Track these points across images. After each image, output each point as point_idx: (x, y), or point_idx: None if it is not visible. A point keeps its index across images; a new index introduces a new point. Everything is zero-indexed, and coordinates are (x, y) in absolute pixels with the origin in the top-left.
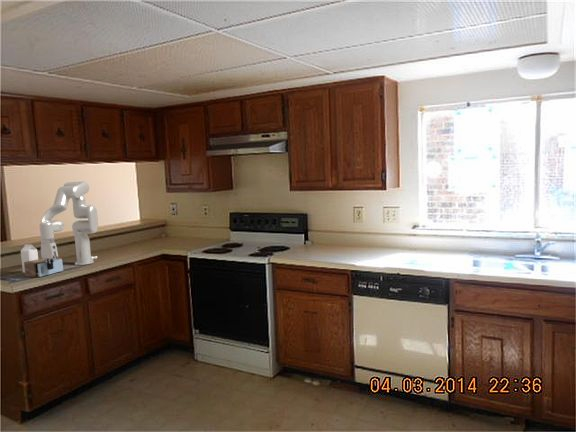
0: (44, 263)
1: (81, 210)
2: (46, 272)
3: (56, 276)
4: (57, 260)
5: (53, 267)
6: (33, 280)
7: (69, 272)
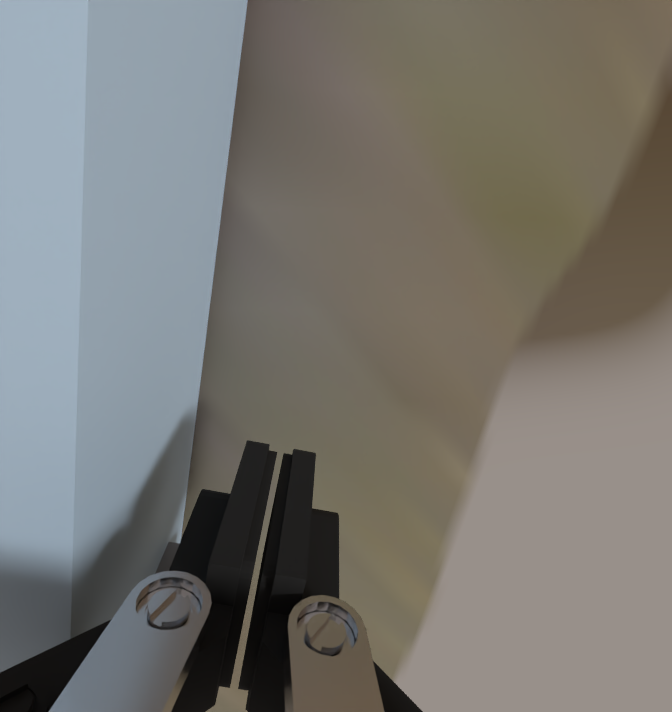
0: None
1: None
2: (178, 466)
3: (464, 486)
4: (97, 72)
5: (176, 297)
6: (239, 696)
7: (551, 116)
